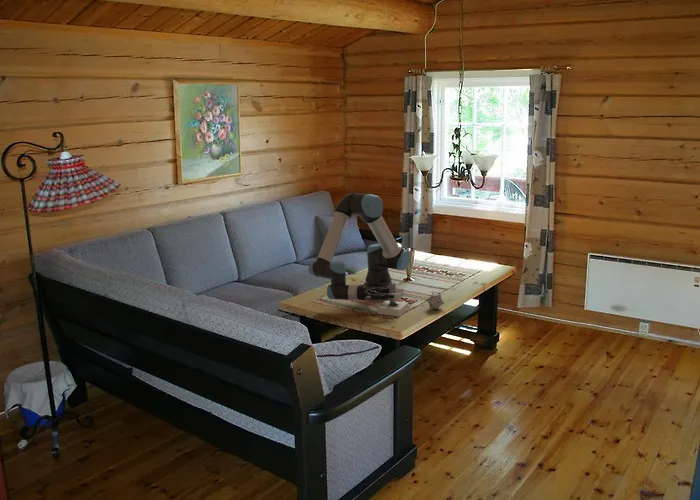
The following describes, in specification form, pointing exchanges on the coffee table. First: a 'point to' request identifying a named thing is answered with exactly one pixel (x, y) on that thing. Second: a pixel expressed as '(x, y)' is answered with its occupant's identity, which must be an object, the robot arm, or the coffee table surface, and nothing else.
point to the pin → (392, 290)
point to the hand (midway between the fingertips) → (402, 293)
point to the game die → (435, 301)
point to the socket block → (393, 308)
